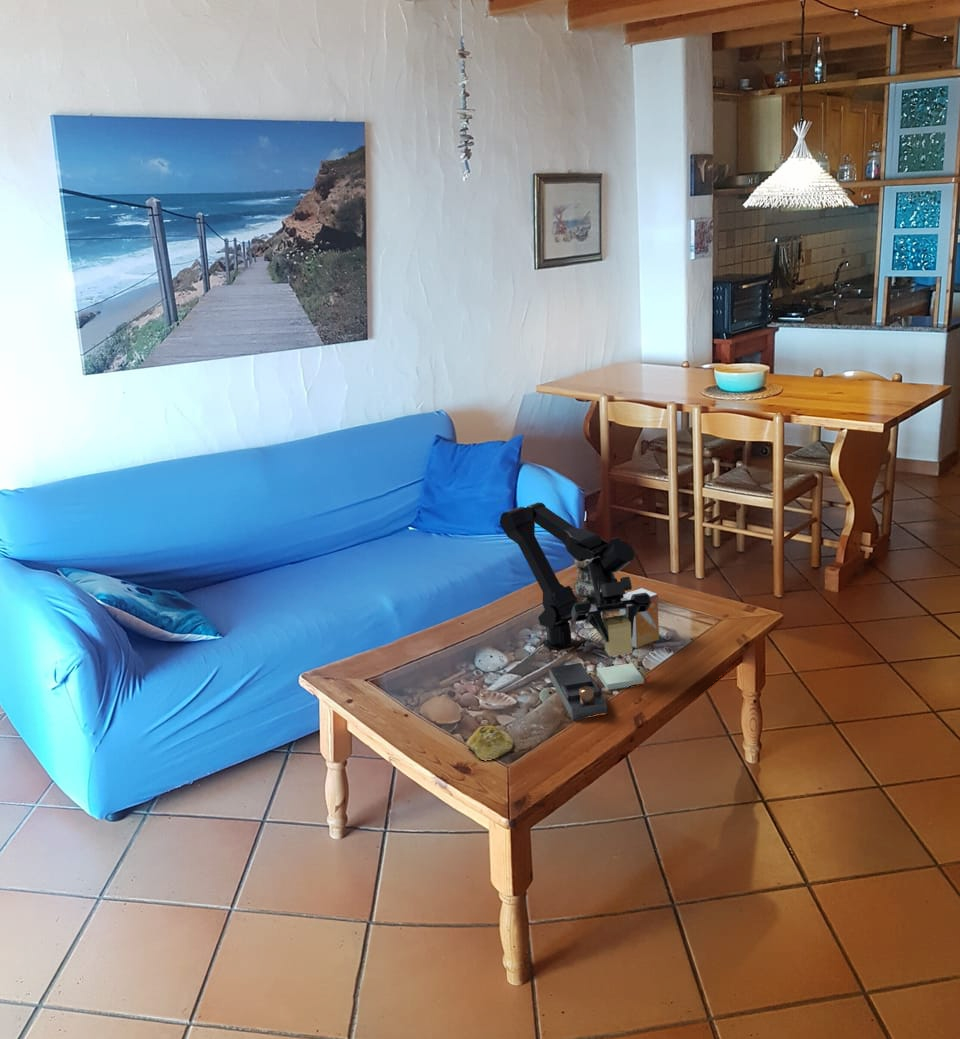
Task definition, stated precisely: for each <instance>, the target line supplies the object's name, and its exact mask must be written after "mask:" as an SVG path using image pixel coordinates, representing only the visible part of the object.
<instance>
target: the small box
mask: <svg viewBox="0 0 960 1039" xmlns="http://www.w3.org/2000/svg"><path fill="white" fill-rule="evenodd" d="M639 593H647V594H648V595H649V596H650V599H651V604H650V606H649V608H648V609H647V611H645V612H638V613H637V615H636V616H634V622H633V636H632V639H631V640H632V648H635V649H638V648H641V647H643V646H645V645H648V644H651V643H654V642H655V641H659V640H660V631H659V630H660V628H659V601H658V600H659V596H658V595H659V594H658V593H656V592H653V591H651V590H648V589H645V588H643V587H640V588H638V589H635V590H632V591H629V592H627V593H626V592H625V594H623V595H624V597H623V598H622V599H621V601H625V600H630V599H631V597H632V595H633V594H639ZM625 613H626V611H625V609H619V616H620V615H625Z"/></svg>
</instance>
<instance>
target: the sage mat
mask: <svg viewBox="0 0 960 1039" xmlns="http://www.w3.org/2000/svg"><path fill="white" fill-rule="evenodd" d="M596 675H597V676H598V678H599V680H600V681H601V683H602V684H603V686H604V687H605V689H606V690H607V691H610V690H611V691H612V690H616V689H625V688H630V687H629V686H631V685H634V684H637V683H641V682H644V683H645V679H644V677H643V676H642V674H641V673H640V671H639V670H638V669H637V668H636V667H635V665H634V664H633V663H632V662H631V663H625V664H619V665H618V664H617V665H612V666H606V667H598V668H596ZM631 687H632V686H631Z"/></svg>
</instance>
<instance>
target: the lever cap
mask: <svg viewBox="0 0 960 1039" xmlns="http://www.w3.org/2000/svg"><path fill="white" fill-rule="evenodd" d="M602 621H603V623H604V626H605V629H606V632H607V635H608V640H609V641H608V642H606V641H605V640H604V639H603V640H604V650H605V652H606V653H607V655H608V656H609V657H615V656H620V655H621V656H622V655H623V656H624V655H628V654H632V653H633V646H632V640H631V622H630V621H629V619H628V618H627V617H626V616H625V615H620V614H619V615H614V616H608V617H602Z"/></svg>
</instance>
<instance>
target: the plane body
mask: <svg viewBox="0 0 960 1039" xmlns="http://www.w3.org/2000/svg"><path fill="white" fill-rule="evenodd" d="M548 669H549V671H548V672H549V680H550V682H551V684H552V685H553V687H554V689H555V690H556V692H557V694H558V697H559V699H560V700H561V701H562V703H563V705H564V707H565V709H566V711H567V713H568V715H569V716H570V718H571V721H579V720H584V719H583V718H585V717H588V716H593V715H596V714H601V713H606V712H607V713H608V703H607V701H606V699H605V698H604V697H603V695H602V692H601V689H600V687H598V685H597V682H595V680H594V679H592V678H591V676H590V674H589V673H588V672H587V670H586V668H585V667H584V665H583V663H581V662H577V663H571V664H564V665H558V666H552V667H549V668H548ZM585 719H586V718H585Z"/></svg>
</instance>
